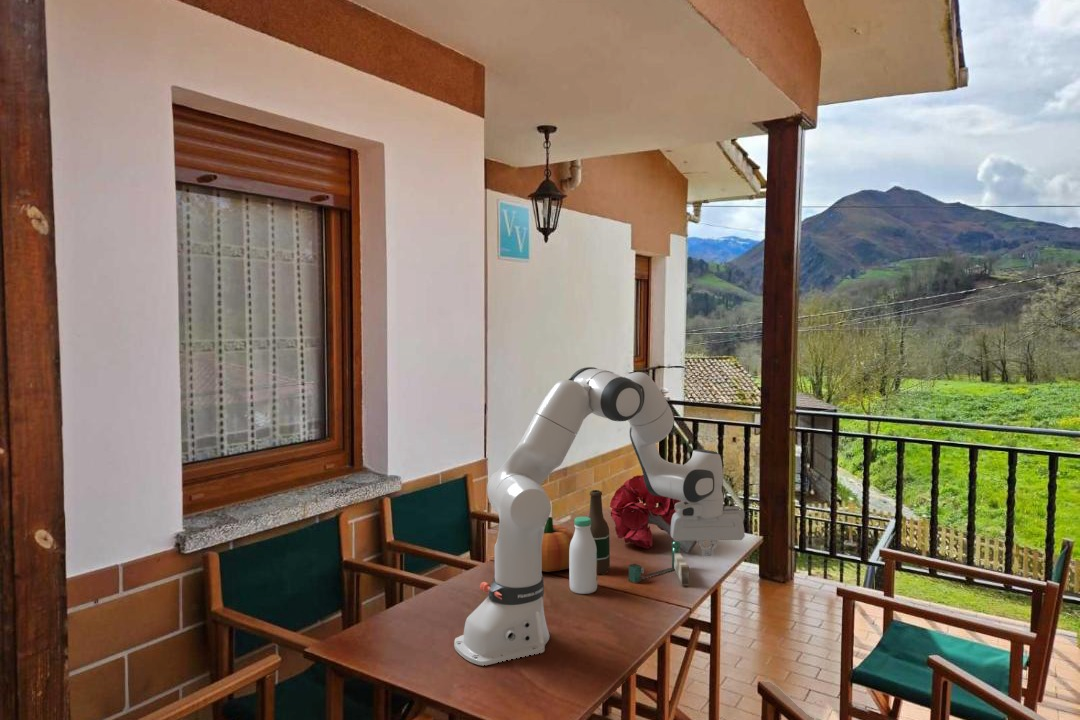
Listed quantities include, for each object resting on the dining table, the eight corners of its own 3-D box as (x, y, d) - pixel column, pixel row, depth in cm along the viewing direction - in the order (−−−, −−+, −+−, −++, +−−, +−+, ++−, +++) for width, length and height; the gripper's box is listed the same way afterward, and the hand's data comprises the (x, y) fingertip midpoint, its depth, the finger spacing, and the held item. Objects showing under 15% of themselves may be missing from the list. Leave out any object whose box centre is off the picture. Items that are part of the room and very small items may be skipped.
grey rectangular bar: (673, 568, 201) (673, 551, 200) (680, 568, 201) (680, 551, 200) (681, 585, 188) (681, 566, 188) (689, 585, 188) (688, 566, 188)
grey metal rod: (639, 580, 193) (639, 579, 193) (637, 579, 194) (637, 577, 194) (674, 570, 201) (674, 568, 201) (671, 568, 202) (671, 567, 202)
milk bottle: (595, 595, 183) (594, 523, 182) (567, 593, 185) (566, 521, 183) (598, 584, 191) (598, 515, 189) (571, 583, 192) (571, 513, 191)
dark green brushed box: (635, 583, 191) (635, 568, 191) (628, 580, 193) (628, 565, 193) (643, 580, 193) (643, 565, 193) (637, 578, 195) (637, 562, 195)
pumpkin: (535, 551, 220) (534, 505, 219) (589, 559, 211) (589, 512, 210) (506, 571, 202) (505, 522, 201) (565, 581, 194) (564, 529, 193)
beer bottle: (597, 577, 196) (596, 495, 195) (578, 570, 202) (577, 491, 201) (615, 570, 201) (614, 491, 200) (596, 563, 207) (595, 486, 206)
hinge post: (676, 570, 200) (676, 542, 200) (669, 568, 203) (669, 540, 202) (682, 568, 202) (682, 540, 201) (676, 566, 204) (675, 538, 204)
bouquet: (690, 559, 228) (620, 505, 242) (722, 506, 219) (648, 453, 233) (663, 585, 211) (589, 525, 224) (697, 528, 202) (618, 469, 215)
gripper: (741, 502, 192) (741, 550, 193) (669, 504, 192) (669, 551, 193) (747, 509, 185) (747, 558, 186) (672, 510, 186) (673, 559, 187)
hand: (707, 555), depth 190 cm, fingers closed
